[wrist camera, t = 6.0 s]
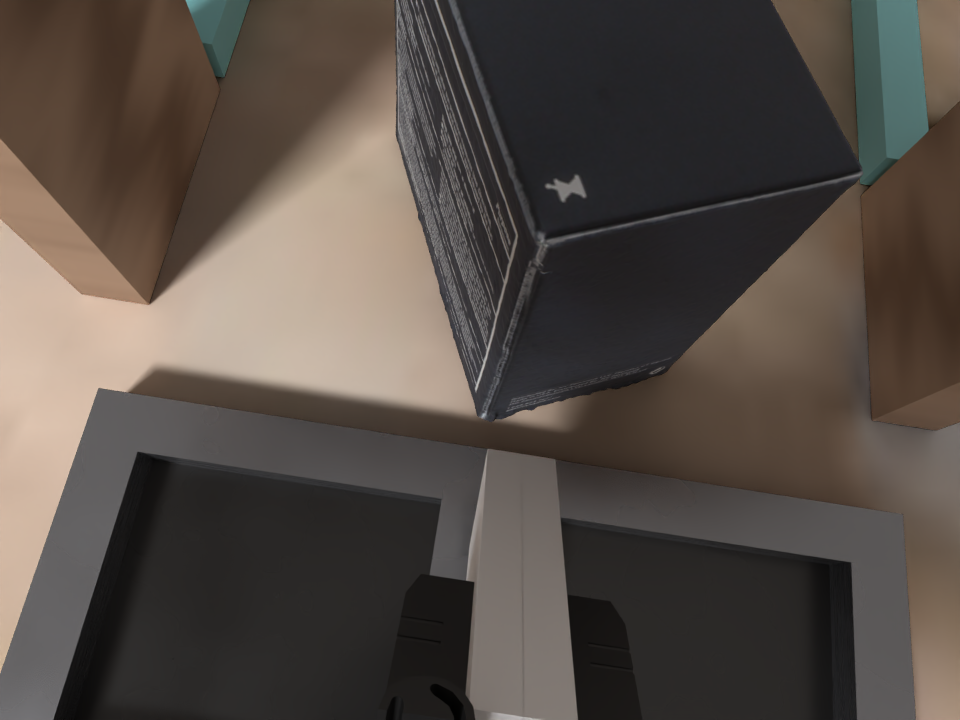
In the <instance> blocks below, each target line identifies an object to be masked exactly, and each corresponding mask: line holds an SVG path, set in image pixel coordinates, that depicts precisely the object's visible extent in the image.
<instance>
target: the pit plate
mask: <svg viewBox="0 0 960 720" xmlns="http://www.w3.org/2000/svg"><path fill="white" fill-rule="evenodd" d="M487 450H488V449H484V448H477V447H471V446H464V445H458V444H452V443H445V442H439V441H433V440H426V439H420V438H414V437H407V436H401V435H394V434H388V433H382V432H375V431H369V430H363V429H356V428H350V427H343V426H337V425H331V424H324V423H318V422H312V421H305V420H299V419H292V418H286V417H280V416H273V415H267V414H261V413H254V412H248V411H241V410H235V409H229V408H222V407H216V406H210V405H203V404H197V403H190V402H184V401H178V400H171V399H165V398H159V397H152V396H146V395H140V394H133V393H127V392H120V391H114V390H108V389H101V388H98V391H97V394H96V397H95V400H94V403H93V406H92V409H91V412H90V414H89V417H88V420H87V423H86V426H85V429H84V432H83V435H82V438H81V441H80V444H79V446H78V449H77V452H76V455H75V458H74V461H73V464H72V467H71V470H70V473H69V475H68V478H67V481H66V484H65V487H64V490H63V493H62V496H61V499H60V502H59V505H58V507H57V510H56V513H55V516H54V519H53V522H52V525H51V528H50V531H49V534H48V537H47V539H46V542H45V545H44V548H43V551H42V554H41V557H40V560H39V563H38V566H37V569H36V571H35V574H34V577H33V580H32V583H31V586H30V589H29V592H28V595H27V598H26V601H25V603H24V606H23V609H22V612H21V615H20V618H19V621H18V624H17V627H16V630H15V632H14V635H13V638H12V641H11V644H10V647H9V650H8V653H7V656H6V659H5V662H4V664H3V667H2V670H1V673H0V720H377V712H378V708H379V705H380V703H381V701H382V699H383V696H384V694H385V693H386V688H387V683H388V678H389V673H390V668H391V663H392V658H393V653H394V648H395V643H396V639H397V633H398V628H399V623H400V619H401V613H402V608H403V603H404V598H405V593H406V591H407V590H408V589H409V588H410V586H411V585H412V584H413V583H414V582H415V580H416V579H417V578H418V577H419V575H420V574H426V575H433V576H439V577H446V578H452V579H459V580H465V581H466V577H467V567H468V556H469V546H470V541H471V535H472V530H473V524H474V519H475V514H476V508H477V503H478V498H479V492H480V487H481V482H482V476H483V471H484V466H485V460H486V455H487ZM555 461H556V473H557V484H558V496H559V508H560V519H561V531H562V542H563V554H564V566H565V577H566V589H567V595H574V596H580V597H587V598H593V599H600V600H606V601H611V603H612V604H613V606H614V608H615V609H616V611H617V612H618V614H619V615H620V617H621V618H622V620H623V621H624V623H625V625H626V631H627V636H628V642H629V648H630V650H629V653H631V659H632V664H633V674H634V675H635V681H636V687H637V692H638V698H639V703H640V709H641V714H642V720H916V716H915V700H914V684H913V668H912V652H911V636H910V619H909V603H908V587H907V571H906V555H905V539H904V523H903V514H898V513H891V512H885V511H879V510H872V509H866V508H860V507H853V506H847V505H840V504H834V503H828V502H821V501H815V500H809V499H802V498H796V497H789V496H783V495H777V494H770V493H764V492H758V491H751V490H745V489H739V488H732V487H726V486H719V485H713V484H707V483H700V482H694V481H688V480H681V479H675V478H668V477H662V476H656V475H649V474H643V473H637V472H630V471H624V470H617V469H611V468H605V467H598V466H592V465H586V464H579V463H573V462H566V461H560V460H555Z"/></svg>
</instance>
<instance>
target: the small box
mask: <svg viewBox="0 0 960 720" xmlns="http://www.w3.org/2000/svg"><path fill="white" fill-rule="evenodd" d="M395 30H396V35H395V40H396V77H397V79H396V85H397V90H396V95H397V101H396V103H397V104H396V138H397V141H398V143H399V147H400V150H401V154H402V159H403V162H404V166H405V169H406V173H407V176H408V179H409V183H410V186H411V190H412V193H413V196H414V200H415V203H416V207H417V211H418V218H419V220H420V222H421V225H422V227H423V232H424V235H425V238H426V243H427V246H428V248H429V252H430V255H431V259H432V262H433V265H434V269H435V274H436V276H437V280H438V283H439V288H440V294H441V296H442V299H443V302H444V305H445V310H446V312H447V314H448V318H449V321H450V326H451V328H452V331H453V338H454V340H455V342H456V346H457V349H458V352H459V356H460V359H461V361H462V365H463V368H464V371H465V375H466V378H467V381H468V384H469V388H470V391H471V394H472V397H473V400H474V403H475V409H476V413H477V416H478V417H480V418H482V419H484V420H487V421H490V422H492V421H494V420H495V419H503V418H506V417H508V416H511V415H513V414H515V413H516V412H519V411H522V410H534V409H535V408H536V407H538V406H542V405H547V404H550V403H554V402H556V401H564V400H566V399H568V398H574V397H576V396H580V395H590V394H591V393H594V392H597V391H601V390H605V389H608V388H612V389H619V388H621V387H624V386H628V385H630V384H633V383H637V382H639V381H642V380H645V379H647V378H649V377H653V376H657V375H661V374H663V373H665V372H667V371H668V369H669V368H670V367H671V366H672V365H673V364H674V363H675V362H676V361H677V360H678V359H679V358H680V357H681V356H682V355H683V353H684V352H685V351H686V350H687V349H688V348H689V347H690V346H691V345H692V344H693V343H694V342H695V341H696V340H697V339H698V338H699V337H700V336H701V335H702V334H703V333H704V332H705V331H706V330H707V329H708V328H710V326H711V325H712V324H713V323H714V322H715V321H716V320H717V319H718V318H719V317H720V316H721V315H722V314H723V313H724V312H725V311H726V310H727V309H728V308H729V307H730V306H731V305H732V304H733V303H734V302H735V301H736V300H737V299H738V298H739V297H740V296H741V295H742V294H743V293H744V292H745V291H746V290H747V289H748V288H749V287H750V286H751V285H752V284H753V283H754V282H755V281H756V280H757V279H758V278H759V277H760V276H761V275H762V274H763V273H764V272H766V271H767V270H768V268H769V267H770V266H771V265H772V264H773V263H774V262H775V261H776V260H777V259H778V258H779V257H780V256H781V255H783V254H784V253H785V252H786V251H787V250H788V249H789V248H790V247H791V246H792V245H793V244H794V243H795V242H796V241H797V240H798V239H799V237H800V236H801V235H802V234H803V233H804V232H805V231H806V230H807V229H808V228H809V227H810V226H811V225H812V224H813V223H814V222H815V221H816V220H817V219H818V218H819V217H820V216H821V215H822V214H823V213H824V212H825V211H826V210H827V209H828V208H829V207H830V206H831V205H832V204H833V203H834V202H835V201H836V200H837V199H838V198H839V197H840V196H841V195H842V194H843V193H844V192H845V191H846V190H847V189H849V188H850V187H851V186H853V185H854V184H855V183H856V182H857V181H858V180H859V178H860V177H861V176H862V175H863V170H862V166H861V164H860V163H859V161H858V159H857V158H856V156H855V154H854V153H853V151H852V149H851V147H850V145H849V143H848V141H847V139H846V138H845V136H844V135H843V133H842V131H841V129H840V127H839V125H838V123H837V121H836V119H835V117H834V115H833V113H832V111H831V110H830V108H829V106H828V104H827V102H826V100H825V98H824V96H823V95H822V93H821V91H820V89H819V87H818V86H817V84H816V82H815V80H814V78H813V77H812V75H811V73H810V71H809V69H808V68H807V66H806V64H805V62H804V60H803V59H802V57H801V55H800V53H799V51H798V49H797V48H796V46H795V44H794V42H793V40H792V38H791V36H790V35H789V33H788V31H787V29H786V27H785V25H784V24H783V22H782V20H781V18H780V16H779V14H778V12H777V11H776V9H775V7H774V5H773V3H772V1H771V0H395Z"/></svg>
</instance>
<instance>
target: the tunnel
mask: <svg viewBox="0 0 960 720" xmlns="http://www.w3.org/2000/svg"><path fill="white" fill-rule="evenodd" d="M219 92H220V87H219V85H218V82H217V80H216V77H215V75H214V72H213V69H212V67H211V64H210V62H209V59H208V57H207V54H206V51H205V49H204V46H203V44H202V41H201V39H200V36H199V33H198V31H197V28H196V26H195V23H194V21H193V18H192V16H191V13H190V10H189V8H188V5H187V3H186V0H0V219H1V220H2V221H3V222H5V223H6V224H7V225H8V226H9V227H10V228H11V229H12V230H13V231H14V232H15V233H16V234H17V235H18V236H20V237H21V238H22V239H23V240H24V241H25V242H26V243H27V244H28V245H29V246H30V247H31V248H32V249H34V250H35V251H36V252H37V253H38V254H39V255H40V256H41V257H42V258H43V259H44V260H45V261H46V262H47V263H49V264H50V265H51V266H52V267H53V268H54V269H55V270H56V271H57V272H58V273H59V274H60V275H61V276H62V277H64V278H65V279H66V280H67V281H68V282H69V283H70V284H71V285H72V286H73V287H74V288H75V289H76V290H78V291H79V292H80V293H81V294H84V295H90V296H96V297H103V298H109V299H115V300H121V301H128V302H134V303H140V304H146V305H149V302H150V299H151V296H152V293H153V290H154V287H155V284H156V281H157V278H158V275H159V272H160V269H161V266H162V263H163V260H164V257H165V254H166V251H167V248H168V245H169V242H170V239H171V236H172V233H173V230H174V227H175V224H176V221H177V218H178V215H179V212H180V209H181V206H182V203H183V200H184V197H185V194H186V191H187V188H188V185H189V182H190V179H191V176H192V173H193V170H194V167H195V164H196V161H197V158H198V155H199V152H200V149H201V146H202V143H203V140H204V137H205V134H206V131H207V128H208V125H209V122H210V119H211V116H212V113H213V110H214V107H215V104H216V101H217V98H218V95H219ZM861 210H862V231H863V251H864V271H865V291H866V312H867V332H868V352H869V372H870V393H871V413H872V420H873V421H879V422H886V423H892V424H898V425H905V426H911V427H917V428H923V429H930V430H939V429H942V428H945V427H947V426H950V425H953V424H956V423H958V422H960V102H958V103H957V104H956V105H955V106H954V107H953V108H952V109H951V110H950V111H949V112H948V113H947V114H946V115H945V116H944V117H943V118H942V119H941V120H940V121H939V122H938V123H937V124H936V125H934V126H933V127H932V128H931V129H930V130H929V131H928V132H927V133H926V134H925V135H924V136H923V137H922V138H921V139H920V140H919V141H918V142H917V143H916V144H915V145H914V146H913V147H911V148H910V149H909V150H908V151H907V152H906V153H905V154H904V155H903V156H902V157H901V158H900V159H899V160H898V161H897V162H896V163H895V164H894V165H893V166H892V167H891V168H890V169H889V170H887V171H886V172H885V173H884V174H883V175H882V176H881V177H880V178H879V179H878V180H877V181H876V182H875V183H874V184H873V185H872V186H871V187H870V188H869V189H868V190H867V191H866V192H864V193H863V194H862V195H861Z"/></svg>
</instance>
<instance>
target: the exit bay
mask: <svg viewBox="0 0 960 720" xmlns="http://www.w3.org/2000/svg"><path fill="white" fill-rule="evenodd" d="M249 2H250V0H186V3H187V5H188V8H189V10H190V13H191V16H192V18H193V21H194V23H195V26H196V28H197V31H198V33H199V36H200V39H201V41H202V44H203V46H204V49H205V51H206V54H207V57H208V59H209V62H210V64H211V67H212V69H213V72H214V75H215V76H217V77H223V78H224V77H225V74H226V71H227V68H228V65H229V62H230V59H231V56H232V53H233V50H234V47H235V44H236V41H237V38H238V35H239V32H240V29H241V26H242V23H243V20H244V17H245V14H246V11H247V8H248V5H249ZM851 7H852V28H853V48H854V68H855V89H856V109H857V129H858V149H859V163H860V164H861V166H862V170H863V175H862V176H861V177H860V184H865V185H871V186H872V185H873V184H874V183H875V182H876V181H877V180H878V179H879V178H880V177H881V176H882V175H883V174H884V173H885V172H886V171H887V170H889V169H890V168H891V167H892V166H893V165H894V164H895V163H896V162H897V161H898V160H899V159H900V158H901V157H902V156H903V155H904V154H905V153H906V152H907V151H908V150H909V149H910V148H911V147H913V146H914V145H915V144H916V143H917V142H918V141H919V140H920V139H921V138H922V137H923V136H924V135H925V134H926V133H927V132H928V131H929V129H928V118H927V107H926V96H925V85H924V74H923V63H922V52H921V41H920V30H919V19H918V8H917V0H851Z"/></svg>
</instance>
